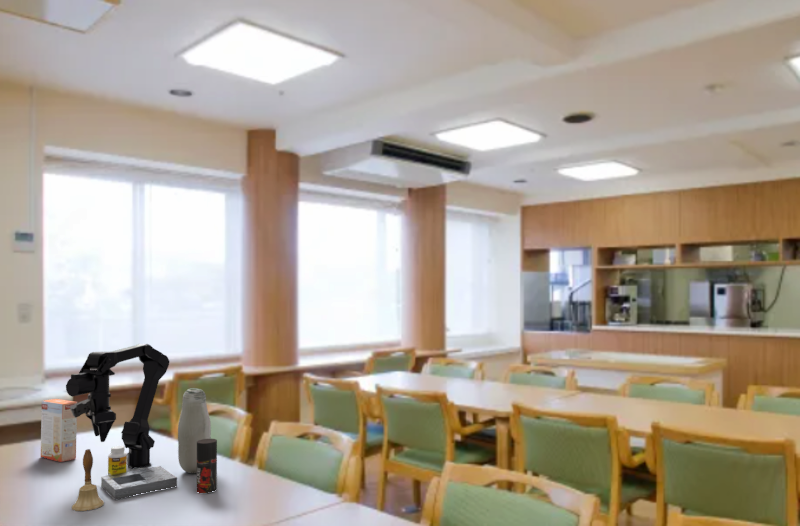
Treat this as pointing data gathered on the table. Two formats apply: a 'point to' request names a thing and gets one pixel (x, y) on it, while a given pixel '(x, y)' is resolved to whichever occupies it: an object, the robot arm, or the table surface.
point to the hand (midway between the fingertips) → (99, 438)
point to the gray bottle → (192, 428)
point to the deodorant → (206, 465)
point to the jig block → (138, 482)
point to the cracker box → (58, 430)
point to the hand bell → (88, 488)
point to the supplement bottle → (117, 460)
